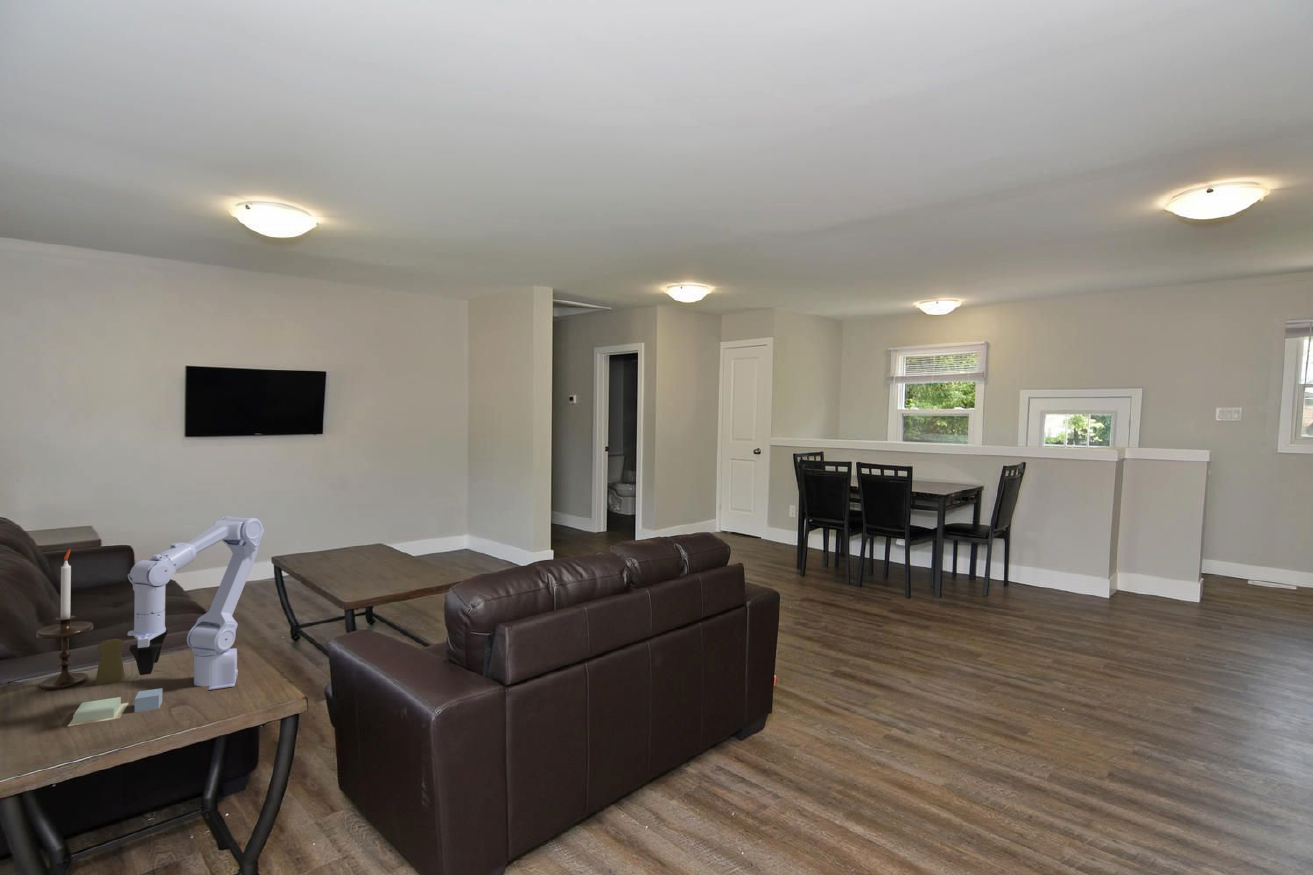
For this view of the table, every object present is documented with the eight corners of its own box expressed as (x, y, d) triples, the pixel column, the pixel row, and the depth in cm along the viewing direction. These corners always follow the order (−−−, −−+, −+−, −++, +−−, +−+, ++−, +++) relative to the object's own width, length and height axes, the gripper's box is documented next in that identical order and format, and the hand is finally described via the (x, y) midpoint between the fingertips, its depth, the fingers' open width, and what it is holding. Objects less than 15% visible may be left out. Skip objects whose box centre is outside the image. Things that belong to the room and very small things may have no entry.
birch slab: (128, 710, 154) (128, 702, 154) (119, 726, 146) (119, 717, 146) (79, 718, 150) (79, 709, 150) (67, 735, 142) (67, 726, 142)
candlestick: (98, 672, 174) (99, 543, 174) (84, 687, 165) (86, 551, 164) (45, 678, 170) (46, 546, 169) (28, 694, 160) (29, 554, 159)
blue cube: (162, 706, 156) (162, 688, 156) (158, 714, 152) (158, 695, 152) (138, 710, 153) (138, 691, 153) (134, 717, 150) (134, 698, 149)
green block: (120, 705, 153) (120, 696, 153) (113, 717, 147) (113, 708, 146) (82, 711, 149) (82, 702, 149) (73, 724, 143) (73, 715, 143)
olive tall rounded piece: (129, 680, 170) (129, 639, 169) (100, 688, 164) (100, 645, 164) (120, 675, 173) (120, 634, 173) (91, 682, 168) (91, 640, 167)
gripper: (135, 605, 156) (134, 660, 157) (120, 621, 144) (120, 682, 144) (171, 602, 160) (170, 656, 160) (160, 618, 147) (159, 677, 148)
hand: (149, 668), depth 152 cm, fingers open, 7 cm apart
